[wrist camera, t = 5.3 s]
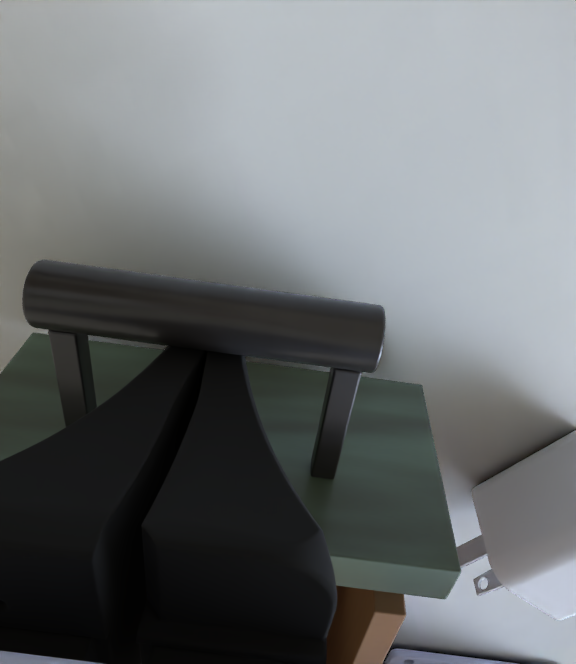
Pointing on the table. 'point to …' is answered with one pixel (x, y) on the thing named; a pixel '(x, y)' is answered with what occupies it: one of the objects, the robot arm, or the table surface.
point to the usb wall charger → (530, 530)
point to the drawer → (263, 417)
